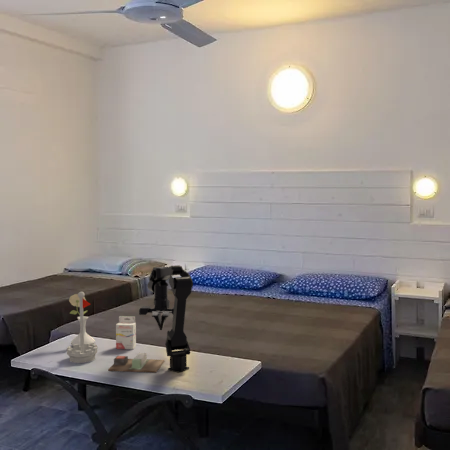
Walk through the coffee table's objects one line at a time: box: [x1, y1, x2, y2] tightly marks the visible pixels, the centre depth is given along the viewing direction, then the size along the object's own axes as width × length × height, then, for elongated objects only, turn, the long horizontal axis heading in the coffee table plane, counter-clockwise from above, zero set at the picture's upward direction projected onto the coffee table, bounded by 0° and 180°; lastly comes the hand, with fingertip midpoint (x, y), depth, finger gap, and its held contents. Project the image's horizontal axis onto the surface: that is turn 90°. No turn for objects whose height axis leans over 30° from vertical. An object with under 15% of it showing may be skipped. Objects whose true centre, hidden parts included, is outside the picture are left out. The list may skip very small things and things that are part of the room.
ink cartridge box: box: [115, 315, 137, 350], centre depth 266 cm, size 9×5×15 cm, turn 84°
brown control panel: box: [107, 355, 165, 373], centre depth 237 cm, size 20×15×3 cm
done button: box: [115, 355, 127, 359], centre depth 238 cm, size 3×3×2 cm
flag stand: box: [66, 291, 98, 364], centre depth 247 cm, size 13×13×30 cm
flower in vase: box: [68, 293, 96, 347], centre depth 269 cm, size 13×11×25 cm
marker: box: [132, 352, 148, 368], centre depth 237 cm, size 11×3×3 cm, turn 173°
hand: (161, 329), depth 250 cm, fingers closed
